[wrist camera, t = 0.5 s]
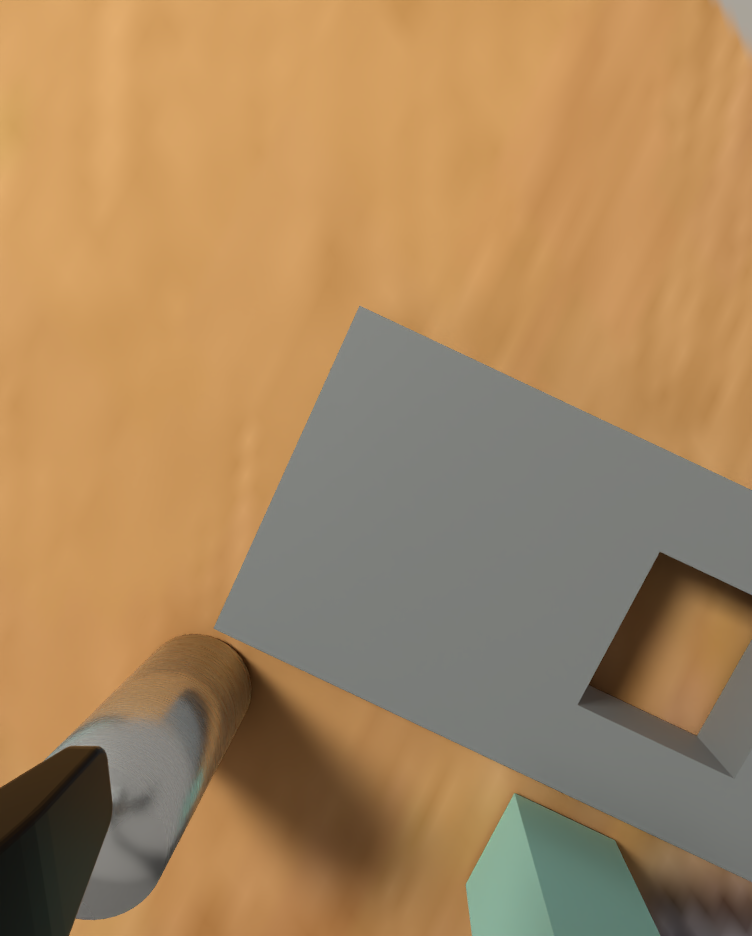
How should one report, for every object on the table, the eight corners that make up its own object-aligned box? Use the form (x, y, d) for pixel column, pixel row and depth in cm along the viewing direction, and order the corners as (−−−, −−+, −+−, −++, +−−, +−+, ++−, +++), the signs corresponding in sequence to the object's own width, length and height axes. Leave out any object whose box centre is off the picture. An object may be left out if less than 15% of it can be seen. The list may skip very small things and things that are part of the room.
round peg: (225, 757, 23) (128, 946, 15) (126, 710, 23) (-24, 875, 15) (269, 663, 22) (192, 806, 14) (168, 615, 22) (36, 733, 14)
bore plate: (743, 842, 22) (785, 898, 20) (235, 603, 22) (213, 628, 20) (903, 570, 21) (970, 593, 18) (365, 317, 21) (359, 305, 18)
